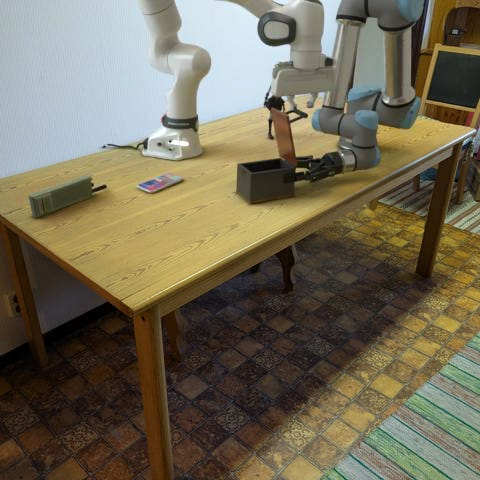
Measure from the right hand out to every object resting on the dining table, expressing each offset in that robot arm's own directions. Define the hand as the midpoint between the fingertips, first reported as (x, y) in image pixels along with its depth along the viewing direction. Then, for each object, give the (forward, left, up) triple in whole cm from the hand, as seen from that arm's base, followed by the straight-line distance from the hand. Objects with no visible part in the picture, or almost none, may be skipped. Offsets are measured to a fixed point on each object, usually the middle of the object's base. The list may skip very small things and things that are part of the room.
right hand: (277, 173), depth 157 cm
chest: (+4, -2, -6) cm, 7 cm away
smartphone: (+20, -32, -6) cm, 38 cm away
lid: (-1, +1, +11) cm, 11 cm away
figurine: (-45, -34, -6) cm, 56 cm away
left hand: (-7, +3, +19) cm, 21 cm away
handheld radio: (+47, -41, -6) cm, 63 cm away
